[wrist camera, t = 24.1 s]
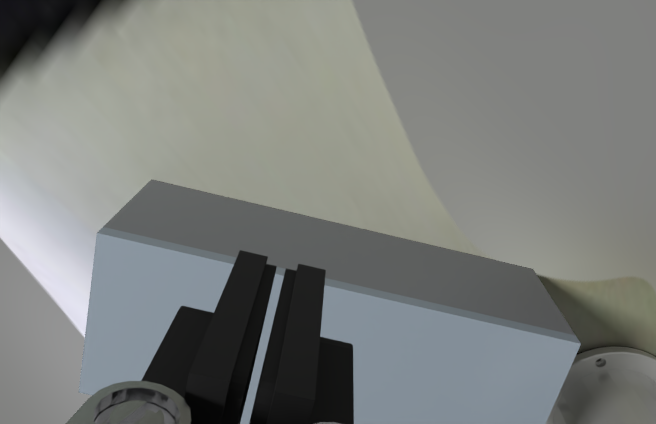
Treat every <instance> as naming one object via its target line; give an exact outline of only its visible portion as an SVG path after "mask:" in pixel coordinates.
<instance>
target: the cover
mask: <svg viewBox="0 0 656 424" xmlns="http://www.w3.org/2000/svg"><path fill="white" fill-rule="evenodd" d="M235 261H236V257H232V256H227V255H223V254H219V253H214V252H210V251H206V250H201V249H197V248H193V247H188V246H184V245H180V244H175V243H171V242H167V241H162V240H158V239H153V238H149V237H145V236H140V235H136V234H132V233H127V232H123V231H119V230H114V229H110V228H106V227H103V228H102V229H101V230H100V231H99V232H97V237H96V246H95V255H94V264H93V272H92V281H91V290H90V299H89V307H88V316H87V325H86V334H85V342H84V351H83V360H82V369H81V377H80V386H79V392H80V393H84V394H89V395H94V394H95V393H96V392H97V391H99V390H100V389H102V388H105V387H107V386H110V385H112V384H115V383H120V382H126V381H141V380H142V378H143V376H144V374H145V372H146V371H147V369H148V367H149V365H150V363H151V361H152V359H153V357H154V355H155V354H156V352H157V350H158V348H159V346H160V344H161V342H162V340H163V338H164V337H165V335H166V333H167V331H168V329H169V327H170V325H171V323H172V321H173V319H174V318H175V316H176V314H177V312H178V310H179V309H180V307H181V306H186V307H191V308H195V309H200V310H204V311H209V312H213V313H214V311H215V309H216V307H217V304H218V302H219V299H220V297H221V294H222V292H223V290H224V287H225V285H226V282H227V280H228V278H229V275H230V273H231V270H232V268H233V266H234V263H235ZM285 270H286V269H284V268H280V267H277V268H276V273H275V277H274V281H273V286H272V290H271V294H270V299H269V303H268V307H267V312H266V316H265V320H264V325H263V329H262V333H261V338H260V342H259V346H258V351H257V355H256V359H255V364H254V368H253V372H252V377H251V381H250V385H249V389H248V394H247V398H246V402H245V406H244V410H243V414H242V418H241V422H240V424H249V422H250V418H251V414H252V409H253V405H254V401H255V396H256V392H257V388H258V384H259V379H260V375H261V371H262V367H263V362H264V358H265V354H266V350H267V346H268V341H269V337H270V333H271V329H272V324H273V320H274V316H275V312H276V308H277V303H278V299H279V295H280V291H281V286H282V282H283V278H284V274H285ZM320 337H324V338H329V339H333V340H338V341H342V342H346V343H351V344H352V345H353V383H354V424H546V422H547V419H548V417H549V415H550V413H551V410H552V408H553V406H554V404H555V401H556V399H557V397H558V395H559V392H560V390H561V388H562V386H563V383H564V381H565V379H566V377H567V374H568V372H569V370H570V368H571V366H572V363H573V361H574V359H575V357H576V354H577V352H578V350H579V348H580V345H581V343H580V341H579V340H578V338H577V337H576V336H575V335H571V334H567V333H562V332H558V331H554V330H549V329H545V328H541V327H536V326H532V325H528V324H523V323H519V322H515V321H510V320H506V319H502V318H497V317H493V316H488V315H484V314H480V313H475V312H471V311H467V310H462V309H458V308H454V307H449V306H445V305H441V304H436V303H432V302H428V301H423V300H419V299H415V298H410V297H406V296H401V295H397V294H393V293H388V292H384V291H380V290H375V289H371V288H367V287H362V286H358V285H354V284H349V283H345V282H341V281H336V280H332V279H327V278H325V286H324V298H323V309H322V321H321V333H320Z"/></svg>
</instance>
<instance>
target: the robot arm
mask: <svg viewBox="0 0 656 424" xmlns="http://www.w3.org/2000/svg"><path fill="white" fill-rule="evenodd" d="M267 259H268V256H264V255H259V254H255V253H251V252H246V251H242V250H240V251H239V254H238V256H237V258H236V261H235V263H234V266H233V268H232V270H231V273H230V275H229V278H228V280H227V282H226V285H225V287H224V290H223V292H222V294H221V297H220V299H219V302H218V304H217V307H216V309H215V311H214V313H213V312H209V311H204V310H200V309H195V308H191V307H186V306H181V307H180V309H179V310H178V312H177V314H176V316H175V318H174V319H173V321H172V323H171V325H170V327H169V329H168V331H167V333H166V335H165V337H164V338H163V340H162V342H161V344H160V346H159V348H158V350H157V352H156V354H155V355H154V357H153V359H152V361H151V363H150V365H149V367H148V369H147V371H146V372H145V374H144V376H143V378H142V380H141V381H126V382H120V383H115V384H112V385H110V386H107V387H105V388H102V389H100V390H99V391H97V392H96V393H95V394H94V395H92V396H91V397H90V398H89V399H88V400H87V401H86V402H85V403H84V404H83V405H82V406H81V407H80V408H79V410H78V411H77V412H76V413H75V414H74V415H73V416H72V417H71V418H70V419H69V421H68V422H67V423H66V424H240V422H241V418H242V414H243V410H244V406H245V402H246V398H247V394H248V389H249V385H250V381H251V377H252V372H253V368H254V364H255V359H256V355H257V351H258V346H259V342H260V338H261V333H262V329H263V325H264V320H265V316H266V312H267V307H268V303H269V299H270V294H271V290H272V286H273V281H274V277H275V273H276V268H277V266H274V265H270V264H267ZM325 274H326V270H324V269H320V268H316V267H311V266H307V265H303V264H298V266H297V270H291V269H287V268H286V270H285V274H284V278H283V282H282V286H281V291H280V295H279V299H278V303H277V308H276V312H275V316H274V320H273V324H272V329H271V333H270V337H269V341H268V346H267V350H266V354H265V358H264V362H263V367H262V371H261V375H260V379H259V384H258V388H257V392H256V396H255V401H254V405H253V409H252V414H251V418H250V422H249V424H354V383H353V345H352V344H351V343H346V342H342V341H338V340H333V339H329V338H324V337H320V333H321V321H322V309H323V298H324V286H325ZM546 424H656V357H655V356H653V355H651V354H649V353H646V352H644V351H642V350H638V349H633V348H629V347H614V346H613V347H604V348H597V349H593V350H589V351H586V352H583V353H581V354H578V355H576V357H575V359H574V361H573V363H572V366H571V368H570V370H569V372H568V374H567V377H566V379H565V381H564V383H563V386H562V388H561V390H560V392H559V395H558V397H557V399H556V401H555V404H554V406H553V408H552V410H551V413H550V415H549V417H548V419H547V422H546Z"/></svg>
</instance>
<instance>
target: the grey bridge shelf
mask: <svg viewBox="0 0 656 424" xmlns="http://www.w3.org/2000/svg"><path fill="white" fill-rule="evenodd" d="M104 227H106V228H110V229H114V230H119V231H123V232H127V233H132V234H136V235H140V236H145V237H149V238H153V239H158V240H162V241H167V242H171V243H175V244H180V245H184V246H188V247H193V248H197V249H201V250H206V251H210V252H214V253H219V254H223V255H227V256H232V257H236V258H237V256H238V254H239V251H240V250H242V251H246V252H251V253H255V254H259V255H264V256H268V259H267V264H270V265H274V266H277V267H280V268H284V269H286V268H287V269H291V270H297V266H298V264H303V265H307V266H311V267H316V268H320V269H324V270H326V274H325V278H327V279H332V280H336V281H341V282H345V283H349V284H354V285H358V286H362V287H367V288H371V289H375V290H380V291H384V292H388V293H393V294H397V295H401V296H406V297H410V298H415V299H419V300H423V301H428V302H432V303H436V304H441V305H445V306H449V307H454V308H458V309H462V310H467V311H471V312H475V313H480V314H484V315H488V316H493V317H497V318H502V319H506V320H510V321H515V322H519V323H523V324H528V325H532V326H536V327H541V328H545V329H549V330H554V331H558V332H562V333H567V334H571V335H575V334H574V332H573V331H572V329H571V327H570V326H569V324H568V323H567V321H566V320H565V318H564V317H563V315H562V314H561V312H560V310H559V309H558V307H557V306H556V304H555V303H554V301H553V300H552V298H551V296H550V295H549V293H548V292H547V290H546V289H545V287H544V286H543V284H542V282H541V281H540V279H539V278H538V276H537V275H536V273H535V272H534V270H533V269H530V268H526V267H522V266H517V265H513V264H509V263H505V262H500V261H496V260H492V259H488V258H484V257H479V256H475V255H471V254H467V253H462V252H458V251H454V250H450V249H445V248H441V247H437V246H432V245H428V244H424V243H420V242H415V241H411V240H407V239H403V238H398V237H394V236H390V235H386V234H381V233H377V232H373V231H369V230H364V229H360V228H356V227H351V226H347V225H343V224H339V223H334V222H330V221H326V220H322V219H317V218H313V217H309V216H305V215H300V214H296V213H292V212H288V211H283V210H279V209H275V208H270V207H266V206H262V205H258V204H253V203H249V202H245V201H241V200H236V199H232V198H228V197H224V196H219V195H215V194H211V193H207V192H202V191H198V190H194V189H190V188H185V187H181V186H177V185H172V184H168V183H164V182H160V181H155V180H151V181H150V182H149V183H148V184H147V185H145V186H144V187H143V188H142V189H141V190H140V191H139V192H138V193H137V194H136V195H135V196H134V197H133V198H132V199H131V200H130V201H129V202H128V203H127V204H126V205H125V206H124V207H123V208H122V209H121V210H120V211H119V212H118V213H117V214H116V215H115V216H114V217H113V218H112V219H111V220H110V221H109V222H108V223H107V224H106V225H105V226H104ZM575 336H576V335H575Z"/></svg>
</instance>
